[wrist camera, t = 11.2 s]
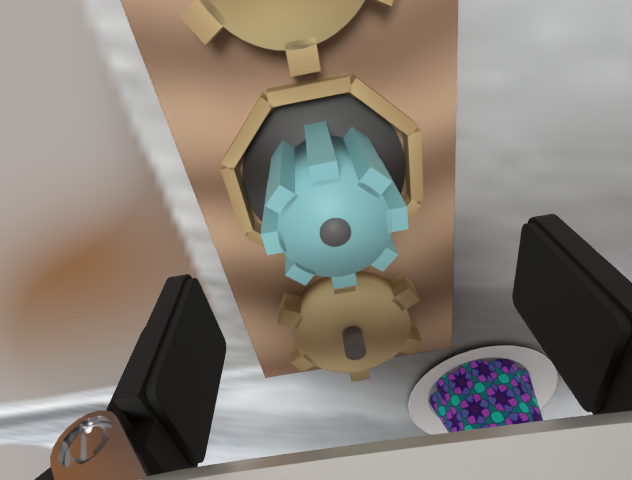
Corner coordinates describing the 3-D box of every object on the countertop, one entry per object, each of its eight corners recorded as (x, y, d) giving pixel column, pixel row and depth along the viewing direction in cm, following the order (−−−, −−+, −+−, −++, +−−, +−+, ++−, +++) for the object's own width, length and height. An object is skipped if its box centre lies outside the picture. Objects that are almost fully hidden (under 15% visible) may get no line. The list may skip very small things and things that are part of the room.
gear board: (68, -178, 13) (-21, -246, 10) (446, -269, 13) (512, -382, 9) (266, 360, 28) (262, 417, 24) (444, 331, 28) (468, 384, 24)
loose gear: (255, 135, 18) (242, 180, 13) (376, 110, 17) (404, 148, 13) (282, 237, 21) (280, 301, 16) (386, 217, 20) (412, 277, 16)
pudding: (453, 446, 36) (475, 509, 32) (376, 390, 31) (390, 455, 27) (575, 387, 33) (619, 449, 28) (510, 312, 27) (552, 373, 23)
